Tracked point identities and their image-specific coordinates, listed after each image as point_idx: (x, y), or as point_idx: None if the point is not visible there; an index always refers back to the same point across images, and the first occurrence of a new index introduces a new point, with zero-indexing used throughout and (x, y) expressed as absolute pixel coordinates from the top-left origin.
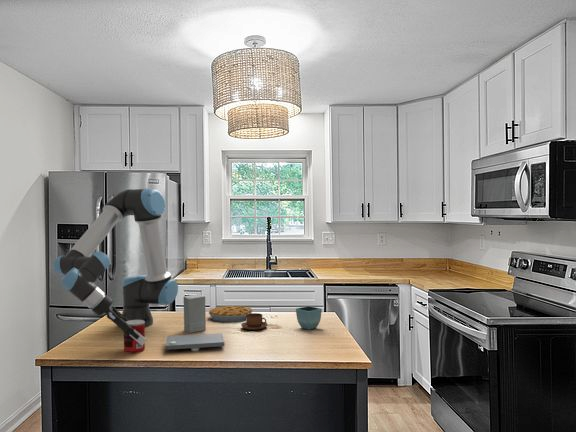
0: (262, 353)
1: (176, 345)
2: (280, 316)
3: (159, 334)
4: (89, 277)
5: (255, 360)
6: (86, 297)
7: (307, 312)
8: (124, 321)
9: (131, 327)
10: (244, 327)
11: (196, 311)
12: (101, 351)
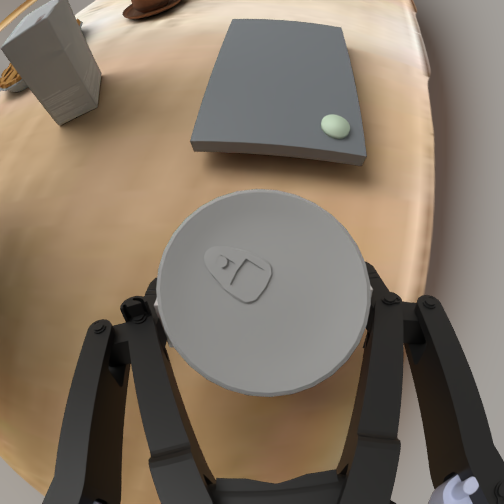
0: (371, 18)
1: (361, 121)
2: (105, 2)
3: (54, 199)
4: None
5: (417, 39)
6: None
7: None
8: (400, 384)
9: (382, 312)
10: (159, 10)
11: (75, 40)
12: (225, 457)
